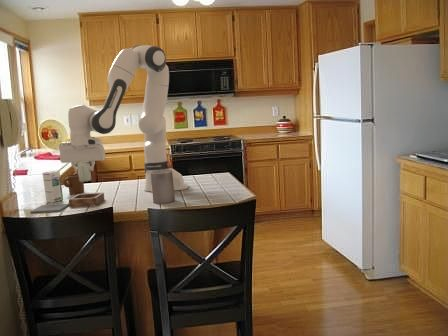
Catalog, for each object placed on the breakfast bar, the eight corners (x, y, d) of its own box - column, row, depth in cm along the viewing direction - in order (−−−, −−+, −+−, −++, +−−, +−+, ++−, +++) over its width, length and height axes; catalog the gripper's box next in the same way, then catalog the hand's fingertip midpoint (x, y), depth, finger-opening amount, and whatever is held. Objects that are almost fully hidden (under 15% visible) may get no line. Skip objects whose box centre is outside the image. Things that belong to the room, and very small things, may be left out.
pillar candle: (162, 198, 228) (158, 166, 226) (179, 199, 223) (176, 166, 221) (148, 203, 220) (145, 170, 218) (166, 204, 215) (163, 170, 213)
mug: (71, 196, 249) (68, 178, 247) (59, 196, 252) (57, 177, 251) (87, 191, 259) (85, 174, 258) (76, 191, 263) (74, 173, 261)
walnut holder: (104, 199, 235) (103, 192, 234) (96, 205, 222) (95, 197, 222) (78, 201, 235) (77, 194, 235) (69, 207, 223) (68, 199, 222)
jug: (88, 181, 223) (86, 163, 222) (76, 182, 223) (74, 163, 222) (92, 179, 230) (90, 160, 228) (81, 179, 230) (79, 161, 229)
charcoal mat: (69, 205, 227) (69, 203, 227) (60, 211, 215) (59, 209, 215) (41, 207, 227) (41, 205, 227) (30, 213, 215) (30, 211, 215)
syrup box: (53, 202, 236) (50, 172, 234) (45, 201, 239) (42, 172, 237) (63, 200, 241) (60, 170, 239) (55, 199, 244) (51, 170, 242)
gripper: (55, 143, 222) (59, 173, 224) (100, 140, 221) (104, 171, 223) (60, 142, 228) (64, 171, 230) (104, 139, 227) (107, 168, 229)
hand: (84, 171), depth 227 cm, fingers closed on jug, 5 cm apart
